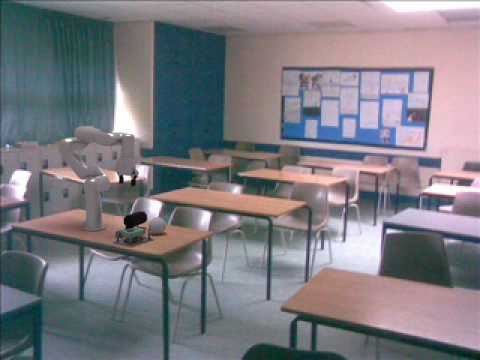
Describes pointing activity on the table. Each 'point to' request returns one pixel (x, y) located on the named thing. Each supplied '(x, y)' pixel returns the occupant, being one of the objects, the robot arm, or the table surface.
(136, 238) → the chassis
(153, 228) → the eye model
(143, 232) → the board
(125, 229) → the stand
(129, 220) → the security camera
